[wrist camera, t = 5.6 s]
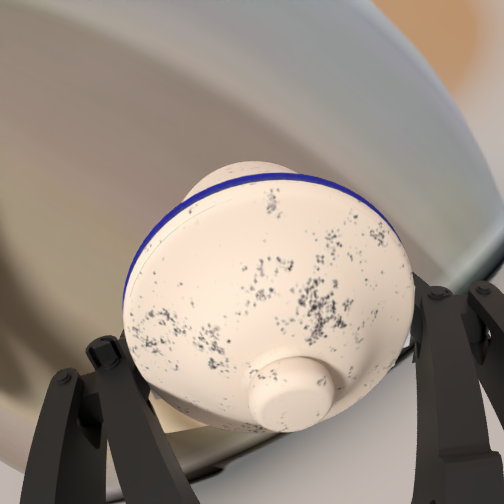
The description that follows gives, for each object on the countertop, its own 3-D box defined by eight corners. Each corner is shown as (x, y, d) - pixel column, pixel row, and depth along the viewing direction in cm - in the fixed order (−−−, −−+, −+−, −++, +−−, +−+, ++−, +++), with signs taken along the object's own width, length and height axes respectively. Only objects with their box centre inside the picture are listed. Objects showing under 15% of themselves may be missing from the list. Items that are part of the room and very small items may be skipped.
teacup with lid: (139, 209, 16) (10, 336, 5) (290, 126, 15) (428, 106, 4) (244, 364, 20) (260, 526, 9) (367, 304, 19) (464, 440, 8)
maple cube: (171, 397, 29) (164, 433, 25) (146, 365, 28) (135, 401, 23) (213, 387, 29) (212, 424, 24) (191, 352, 27) (185, 390, 22)
